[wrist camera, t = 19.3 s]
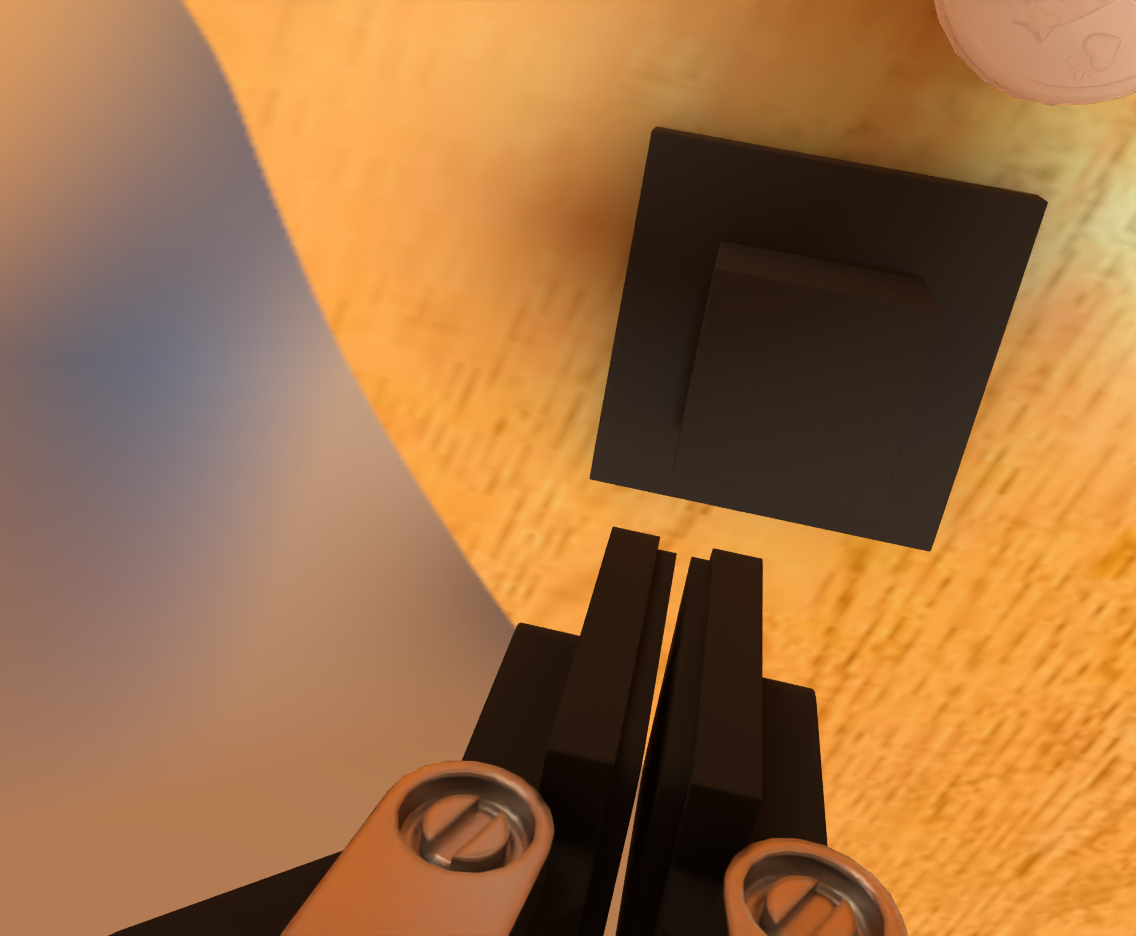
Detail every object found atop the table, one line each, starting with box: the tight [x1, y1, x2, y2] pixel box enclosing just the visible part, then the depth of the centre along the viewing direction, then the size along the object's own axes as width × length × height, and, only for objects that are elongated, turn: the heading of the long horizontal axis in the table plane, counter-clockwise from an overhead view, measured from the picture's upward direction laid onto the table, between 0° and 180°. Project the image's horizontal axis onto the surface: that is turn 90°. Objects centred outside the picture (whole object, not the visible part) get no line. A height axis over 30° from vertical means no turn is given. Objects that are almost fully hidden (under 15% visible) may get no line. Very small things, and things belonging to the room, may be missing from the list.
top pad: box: [672, 241, 943, 514], centre depth 33 cm, size 6×6×4 cm
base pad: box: [590, 127, 1048, 551], centre depth 34 cm, size 12×12×3 cm
